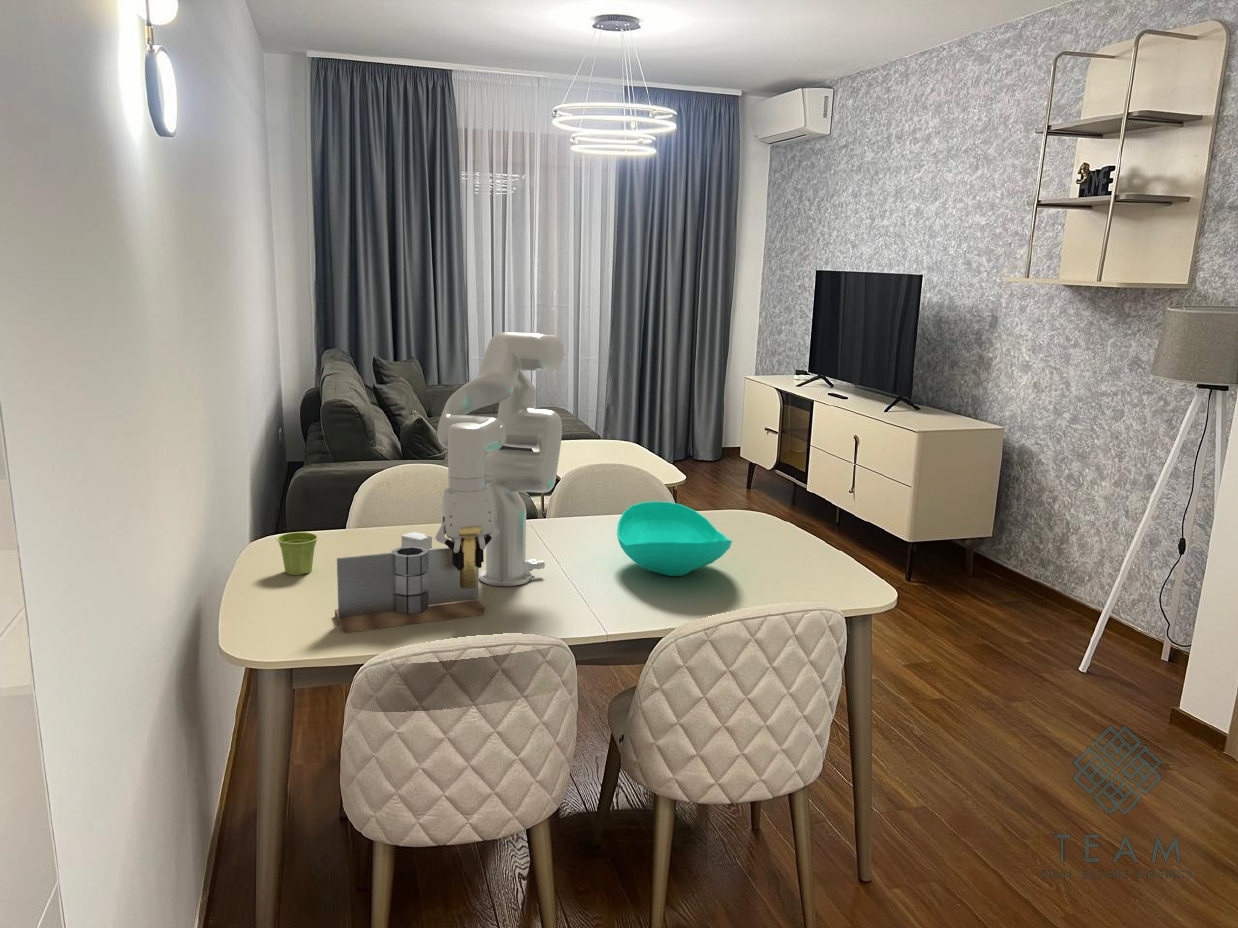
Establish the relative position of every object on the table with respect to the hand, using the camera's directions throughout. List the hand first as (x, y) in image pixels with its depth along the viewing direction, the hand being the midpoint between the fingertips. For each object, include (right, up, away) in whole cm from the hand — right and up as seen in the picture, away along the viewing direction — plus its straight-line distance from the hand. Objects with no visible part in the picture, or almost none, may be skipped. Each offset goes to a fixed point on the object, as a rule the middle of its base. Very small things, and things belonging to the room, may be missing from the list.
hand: (468, 566), depth 198 cm
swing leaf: (-8, -9, +6) cm, 13 cm away
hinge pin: (0, -4, +1) cm, 4 cm away
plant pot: (-46, -5, +30) cm, 55 cm away
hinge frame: (-18, -10, +1) cm, 21 cm away
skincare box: (-16, -7, +24) cm, 29 cm away
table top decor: (+45, -6, +40) cm, 60 cm away
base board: (-13, -11, +4) cm, 18 cm away
